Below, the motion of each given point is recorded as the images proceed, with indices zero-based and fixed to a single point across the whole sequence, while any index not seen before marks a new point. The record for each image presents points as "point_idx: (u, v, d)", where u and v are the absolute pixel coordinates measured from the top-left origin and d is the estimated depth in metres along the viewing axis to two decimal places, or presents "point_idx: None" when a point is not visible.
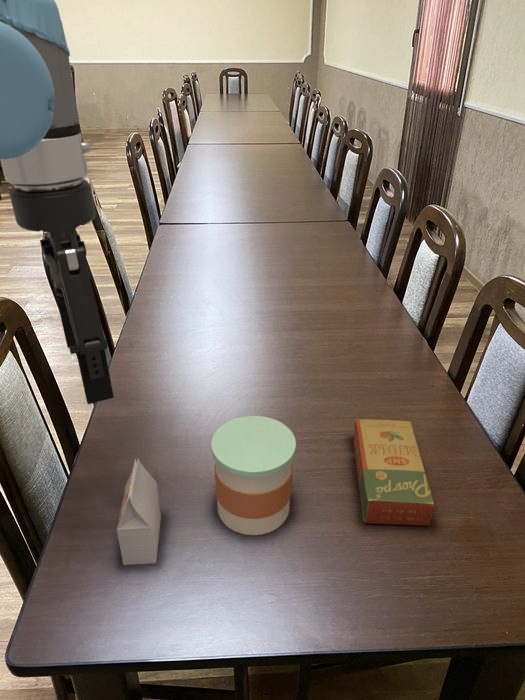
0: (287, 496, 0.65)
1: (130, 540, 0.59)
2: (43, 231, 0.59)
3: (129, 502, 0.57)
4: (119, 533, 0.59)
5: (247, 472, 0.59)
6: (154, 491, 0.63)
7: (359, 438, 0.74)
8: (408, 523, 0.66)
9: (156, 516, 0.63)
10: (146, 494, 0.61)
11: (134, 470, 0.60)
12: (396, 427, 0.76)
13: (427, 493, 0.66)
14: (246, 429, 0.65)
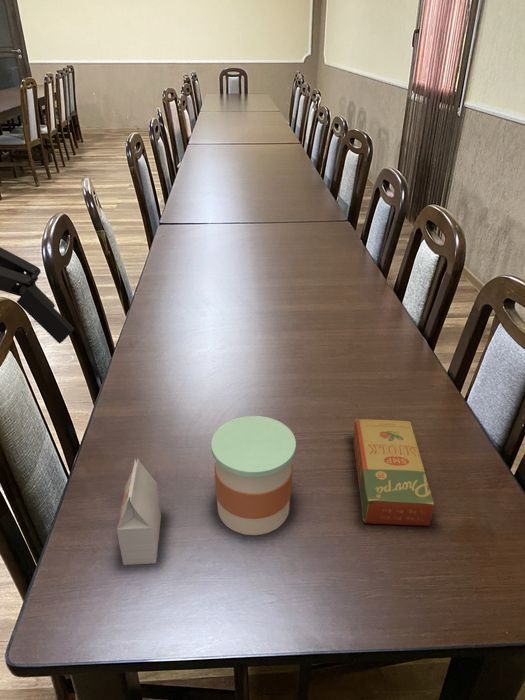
0: (287, 496, 0.65)
1: (130, 540, 0.59)
2: None
3: (129, 502, 0.57)
4: (119, 533, 0.59)
5: (247, 472, 0.59)
6: (154, 491, 0.63)
7: (359, 438, 0.74)
8: (408, 523, 0.66)
9: (156, 516, 0.63)
10: (146, 494, 0.61)
11: (134, 470, 0.60)
12: (396, 427, 0.76)
13: (427, 493, 0.66)
14: (246, 429, 0.65)
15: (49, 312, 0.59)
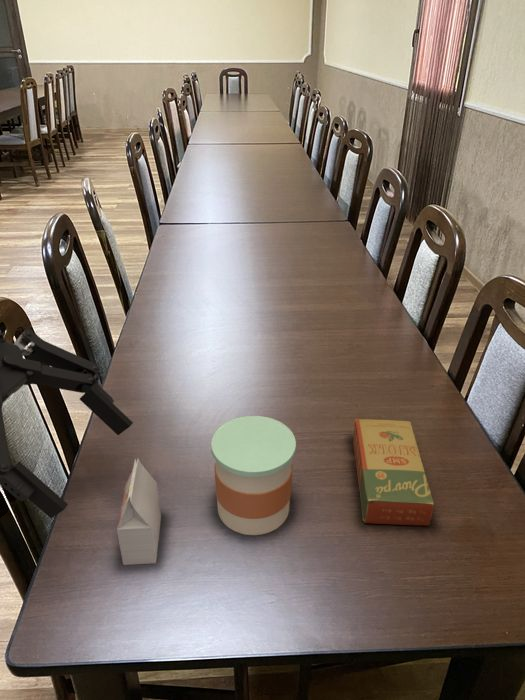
0: (287, 496, 0.65)
1: (130, 540, 0.59)
2: None
3: (129, 502, 0.57)
4: (119, 533, 0.59)
5: (247, 472, 0.59)
6: (154, 491, 0.63)
7: (359, 438, 0.74)
8: (408, 523, 0.66)
9: (156, 516, 0.63)
10: (146, 494, 0.61)
11: (134, 470, 0.60)
12: (396, 427, 0.76)
13: (427, 493, 0.66)
14: (246, 429, 0.65)
15: (110, 409, 0.64)
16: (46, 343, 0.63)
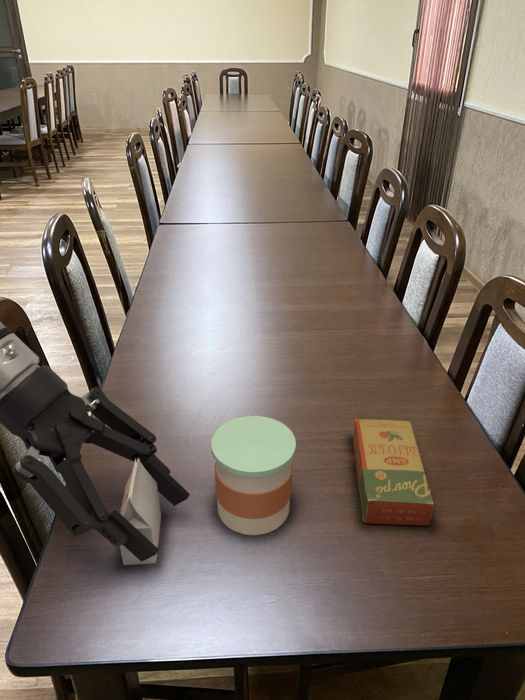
0: (287, 496, 0.65)
1: None
2: None
3: (129, 502, 0.57)
4: None
5: (247, 472, 0.59)
6: (154, 491, 0.63)
7: (359, 438, 0.74)
8: (408, 523, 0.66)
9: (156, 516, 0.63)
10: (146, 494, 0.61)
11: (134, 470, 0.60)
12: (396, 427, 0.76)
13: (427, 493, 0.66)
14: (246, 429, 0.65)
15: (168, 481, 0.64)
16: (111, 403, 0.63)
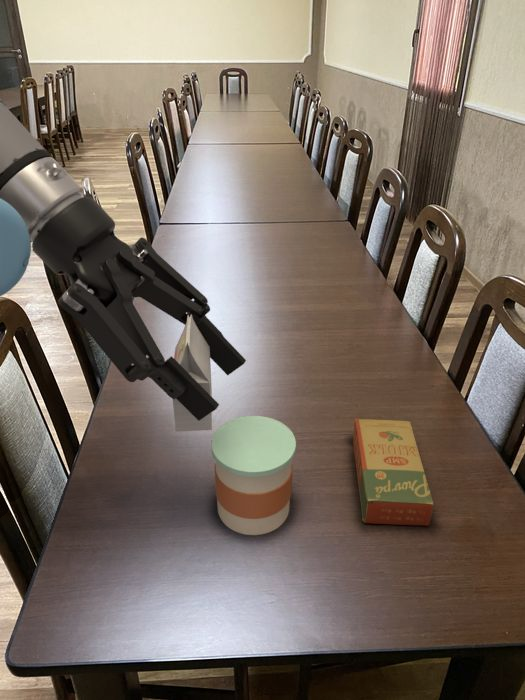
0: (287, 496, 0.65)
1: None
2: None
3: (186, 350, 0.51)
4: None
5: (247, 472, 0.59)
6: (208, 353, 0.57)
7: (358, 438, 0.74)
8: (408, 523, 0.66)
9: (210, 381, 0.57)
10: (201, 351, 0.54)
11: (188, 323, 0.54)
12: (395, 427, 0.76)
13: (426, 493, 0.66)
14: (246, 429, 0.65)
15: (223, 344, 0.57)
16: (159, 257, 0.57)
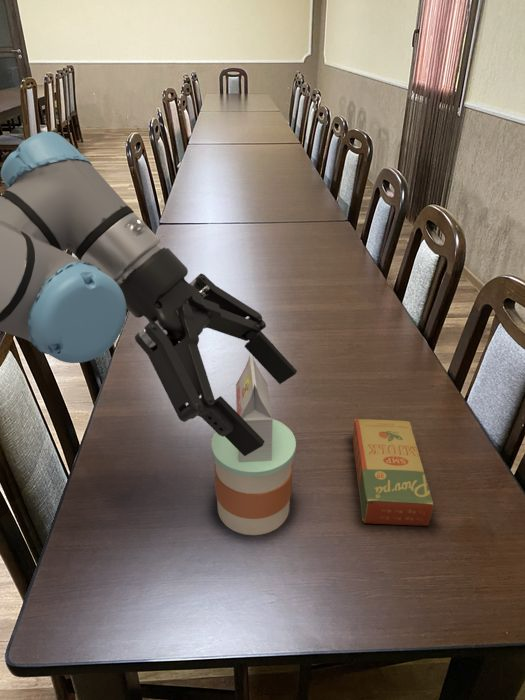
0: (287, 496, 0.65)
1: None
2: None
3: (253, 390, 0.56)
4: None
5: (247, 472, 0.59)
6: (267, 390, 0.62)
7: (358, 438, 0.74)
8: (407, 523, 0.66)
9: None
10: (263, 389, 0.60)
11: (252, 364, 0.59)
12: (395, 427, 0.76)
13: (426, 493, 0.66)
14: None
15: (277, 356, 0.64)
16: (218, 288, 0.63)
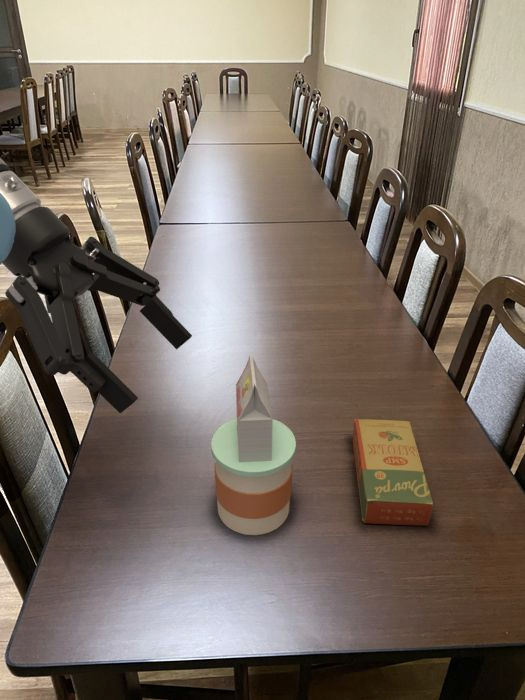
0: (287, 496, 0.65)
1: (250, 433, 0.58)
2: None
3: (253, 390, 0.56)
4: (240, 425, 0.58)
5: (247, 472, 0.59)
6: (267, 390, 0.62)
7: (358, 438, 0.74)
8: (407, 523, 0.66)
9: None
10: (263, 389, 0.60)
11: (252, 364, 0.59)
12: (395, 427, 0.76)
13: (426, 493, 0.66)
14: None
15: (171, 320, 0.65)
16: (109, 252, 0.63)
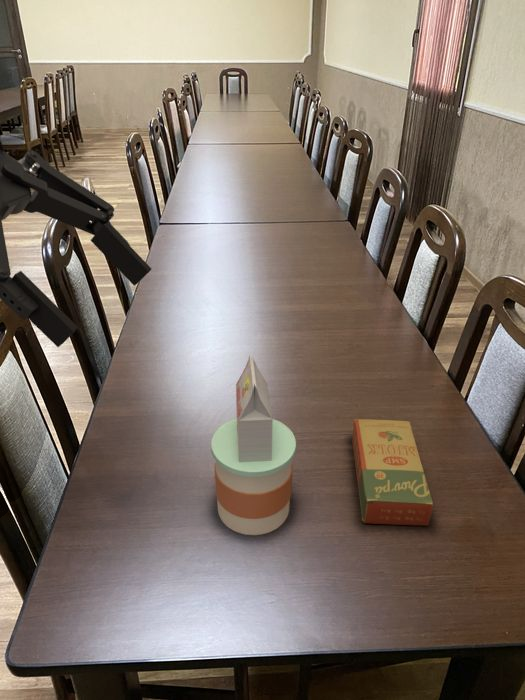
0: (287, 496, 0.65)
1: (250, 433, 0.58)
2: None
3: (253, 390, 0.56)
4: (240, 425, 0.58)
5: (247, 472, 0.59)
6: (267, 390, 0.62)
7: (358, 438, 0.74)
8: (407, 523, 0.66)
9: None
10: (263, 389, 0.60)
11: (252, 364, 0.59)
12: (395, 427, 0.76)
13: (426, 493, 0.66)
14: None
15: (126, 250, 0.56)
16: (53, 169, 0.54)
